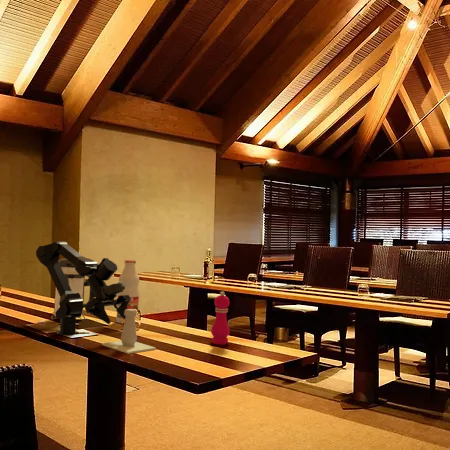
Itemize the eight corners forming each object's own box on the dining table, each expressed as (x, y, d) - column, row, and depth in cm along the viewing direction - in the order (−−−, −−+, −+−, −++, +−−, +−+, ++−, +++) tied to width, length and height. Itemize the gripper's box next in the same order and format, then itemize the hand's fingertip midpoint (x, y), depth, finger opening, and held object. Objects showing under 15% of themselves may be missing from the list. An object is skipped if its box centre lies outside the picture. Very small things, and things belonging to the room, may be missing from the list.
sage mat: (102, 344, 196) (102, 343, 196) (129, 341, 204) (129, 339, 204) (128, 353, 185) (128, 352, 185) (155, 349, 193) (155, 347, 193)
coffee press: (82, 324, 234) (86, 254, 234) (45, 321, 234) (49, 252, 234) (92, 317, 251) (96, 252, 251) (58, 315, 251) (62, 251, 252)
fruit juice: (135, 320, 249) (139, 259, 249) (138, 324, 240) (142, 261, 240) (115, 320, 246) (118, 259, 246) (117, 324, 237) (120, 260, 237)
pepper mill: (232, 342, 212) (234, 291, 212) (224, 345, 205) (227, 293, 205) (215, 340, 215) (218, 289, 215) (207, 343, 208) (210, 291, 208)
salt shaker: (120, 343, 197) (121, 307, 197) (135, 343, 198) (137, 308, 198) (120, 347, 191) (122, 310, 191) (137, 347, 193) (139, 310, 193)
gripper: (92, 275, 193) (112, 311, 187) (129, 273, 208) (148, 306, 202) (76, 295, 197) (95, 330, 191) (113, 291, 213) (132, 324, 207)
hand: (118, 322), depth 198 cm, fingers open, 9 cm apart
